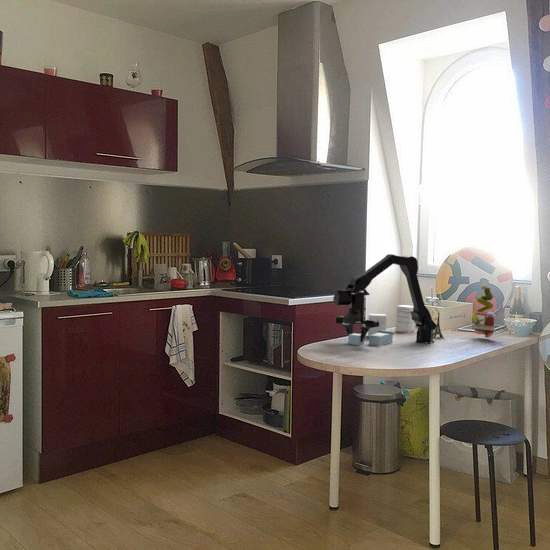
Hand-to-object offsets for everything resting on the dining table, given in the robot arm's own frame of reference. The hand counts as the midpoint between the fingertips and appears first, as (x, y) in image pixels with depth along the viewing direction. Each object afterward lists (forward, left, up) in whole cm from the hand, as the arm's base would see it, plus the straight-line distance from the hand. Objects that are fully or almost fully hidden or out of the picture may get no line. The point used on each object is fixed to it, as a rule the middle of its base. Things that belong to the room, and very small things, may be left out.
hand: (356, 341), depth 275 cm
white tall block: (0, -50, -1) cm, 50 cm away
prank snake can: (-36, -57, -1) cm, 68 cm away
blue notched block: (-7, -9, -1) cm, 12 cm away
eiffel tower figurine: (-19, -43, -2) cm, 47 cm away
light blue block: (0, 0, -1) cm, 1 cm away
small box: (+2, -23, -1) cm, 24 cm away
